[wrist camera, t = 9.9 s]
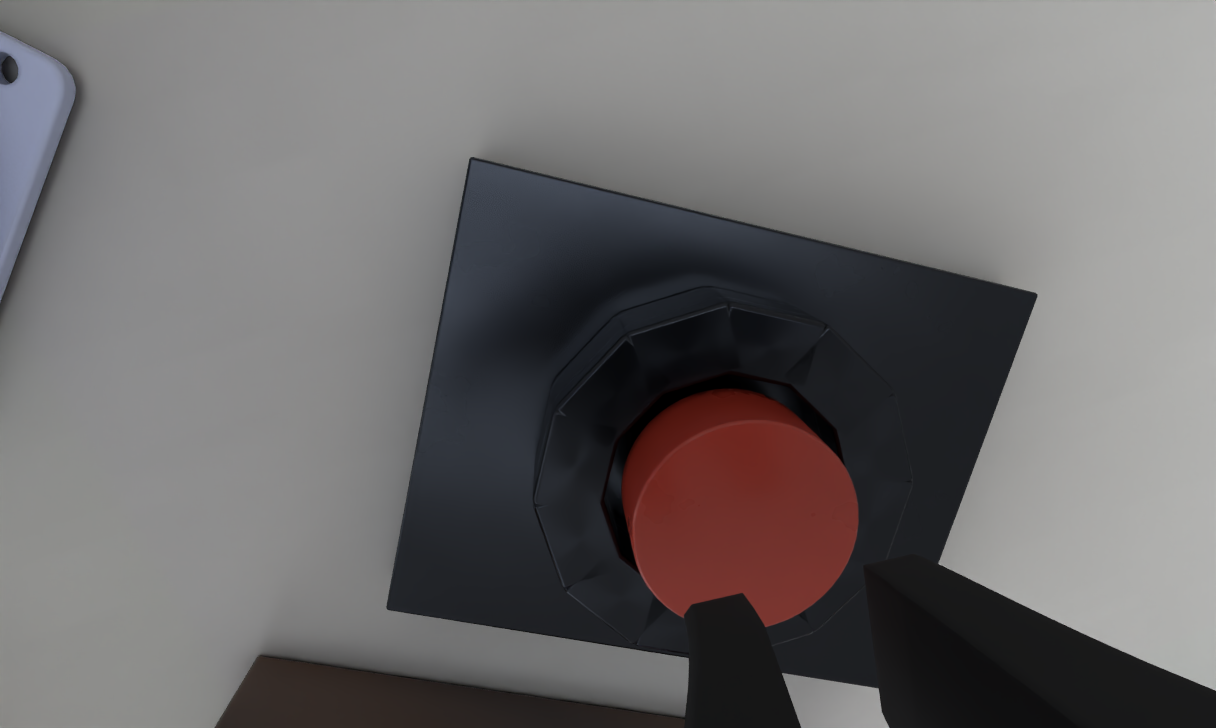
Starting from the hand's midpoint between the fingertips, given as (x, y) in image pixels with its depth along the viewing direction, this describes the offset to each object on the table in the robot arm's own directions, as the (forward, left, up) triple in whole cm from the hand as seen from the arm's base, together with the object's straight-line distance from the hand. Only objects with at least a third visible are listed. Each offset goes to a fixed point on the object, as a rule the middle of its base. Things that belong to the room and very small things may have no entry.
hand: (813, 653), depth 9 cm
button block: (0, 0, -7) cm, 7 cm away
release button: (0, 0, -5) cm, 5 cm away
